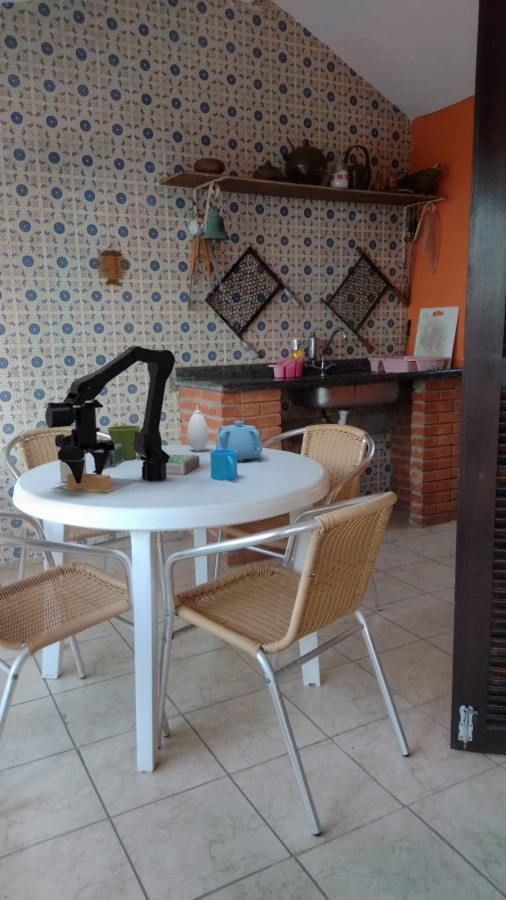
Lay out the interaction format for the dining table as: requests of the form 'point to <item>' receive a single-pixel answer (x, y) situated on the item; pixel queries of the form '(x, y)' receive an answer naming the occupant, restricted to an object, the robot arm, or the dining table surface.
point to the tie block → (68, 469)
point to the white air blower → (197, 431)
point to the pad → (90, 489)
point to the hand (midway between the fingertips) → (88, 480)
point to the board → (114, 483)
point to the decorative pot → (240, 440)
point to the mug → (223, 464)
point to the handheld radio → (114, 457)
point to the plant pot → (124, 438)
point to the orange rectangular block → (90, 481)
